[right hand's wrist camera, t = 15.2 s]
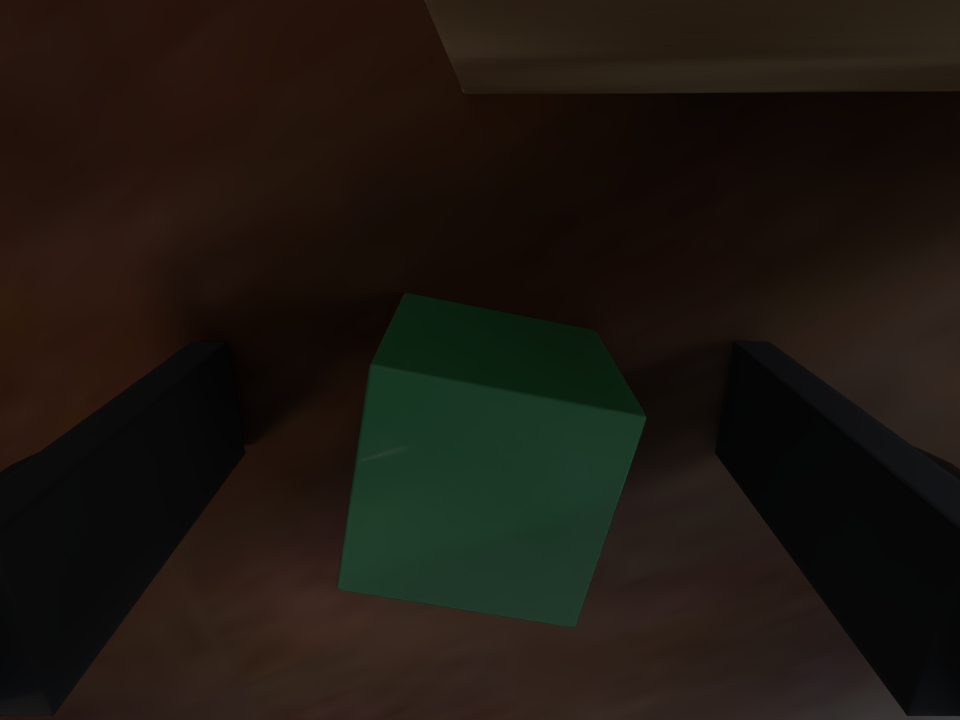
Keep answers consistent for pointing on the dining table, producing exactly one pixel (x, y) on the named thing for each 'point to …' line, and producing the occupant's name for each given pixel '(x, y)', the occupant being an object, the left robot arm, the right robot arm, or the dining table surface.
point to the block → (487, 462)
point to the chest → (700, 45)
